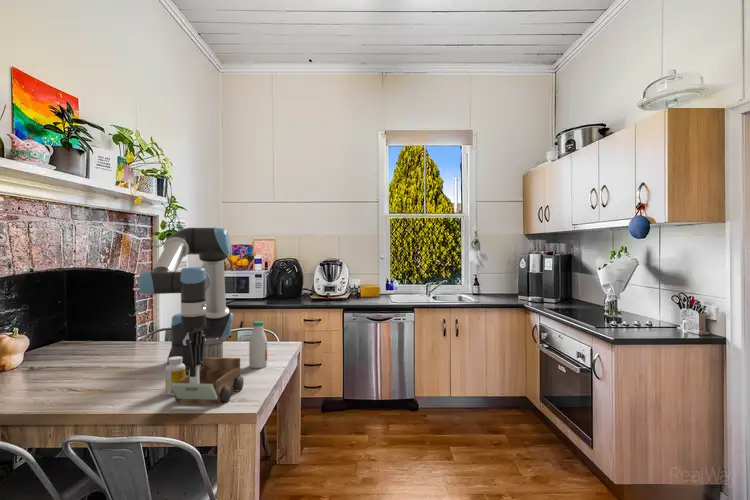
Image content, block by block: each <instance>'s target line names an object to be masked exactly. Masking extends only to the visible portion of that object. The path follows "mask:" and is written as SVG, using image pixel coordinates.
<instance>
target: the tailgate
mask: <svg viewBox="0 0 750 500" xmlns="http://www.w3.org/2000/svg"><path fill="white" fill-rule="evenodd" d="M171 387H172V389H173V391H174V393H175V395H176V397H177V399H208V400H217V398H218V396H217V394H216V392H215V389H214V387H213V385H212V384H196V383H172V384H171ZM175 395H174V396H175Z"/></svg>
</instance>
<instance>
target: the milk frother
mask: <svg viewBox="0 0 750 500" xmlns="http://www.w3.org/2000/svg"><path fill="white" fill-rule="evenodd" d="M223 353H224V340H222V339H221V338H212V339H205V344H204V354H203V358H224V354H223ZM201 362H203V361H201ZM201 367H203V364H202V365H200V368H201ZM189 374H190V373H189V367H185V375H186V376H187V375H189Z"/></svg>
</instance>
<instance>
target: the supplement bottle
mask: <svg viewBox="0 0 750 500" xmlns="http://www.w3.org/2000/svg"><path fill="white" fill-rule="evenodd" d="M167 359H168V358H167ZM182 360H183V358H182V357H180V356H176V357H170V358H169V359H168V362H169V365H166V367H165V369H164V370H165V373H164V374H165V379H164V380H165V395H167V396H171V397H172V396H174V397H175V393H174V391H173V389H172V387H171V384H172V383H179V380H180V379H182V378H184V377H185V376H186V375H185V368H186V366H185V365H184V364H183V363H182Z"/></svg>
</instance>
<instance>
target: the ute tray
mask: <svg viewBox="0 0 750 500" xmlns="http://www.w3.org/2000/svg"><path fill="white" fill-rule="evenodd" d="M199 379H200V384H212V385H213V387H214V389H215V392H216V394H217V396H218V398H217V400H208V399H177V397H176V395H174V397H175V401H177V402H178V401H179V402H178V403H179V404H188V405H189V404H190V405H191V404H192V405H221V404H222V403H223V402H224V403H226V402H227V403H229V402H230V401H231V397H232V395H233V394H234V393H235V392H241V391H242V390H243V388H244V382H245V381H244V378H243V376H241V358H240V357H223V358H203V367H201V366H200V367H199ZM179 383H190V373H189V375H187V376H185V377H184V378H182V379H180V380H179Z"/></svg>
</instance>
